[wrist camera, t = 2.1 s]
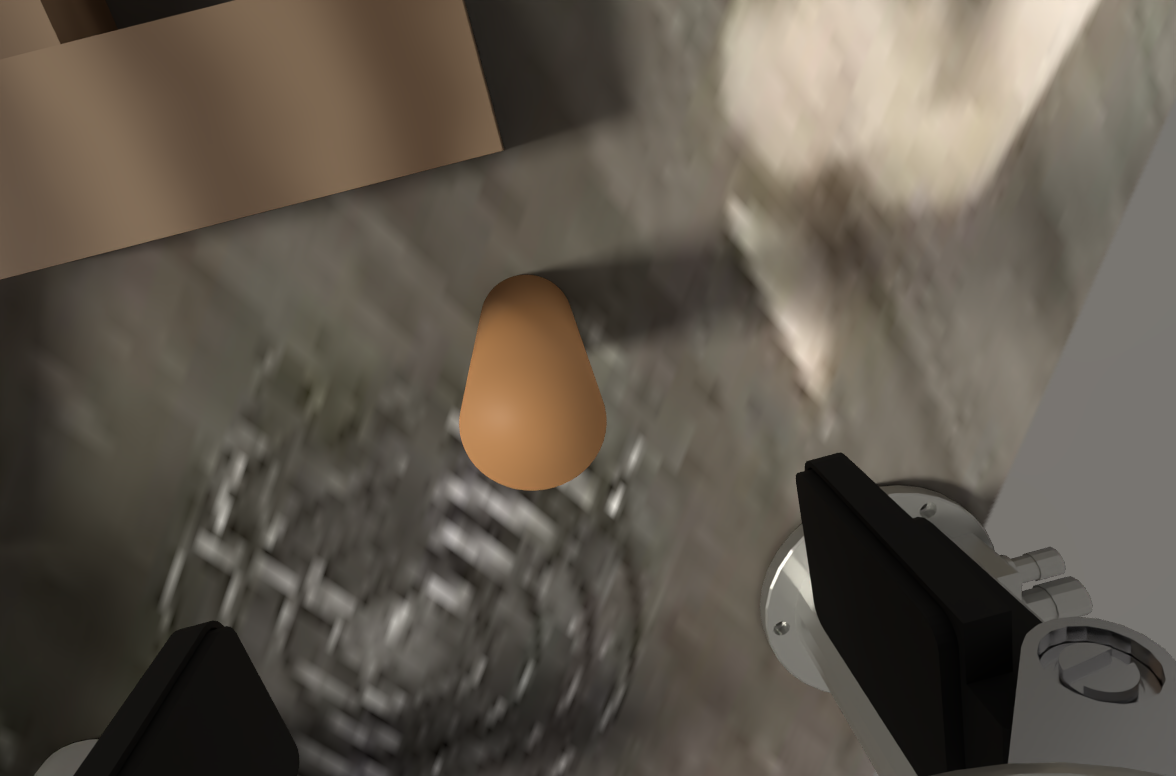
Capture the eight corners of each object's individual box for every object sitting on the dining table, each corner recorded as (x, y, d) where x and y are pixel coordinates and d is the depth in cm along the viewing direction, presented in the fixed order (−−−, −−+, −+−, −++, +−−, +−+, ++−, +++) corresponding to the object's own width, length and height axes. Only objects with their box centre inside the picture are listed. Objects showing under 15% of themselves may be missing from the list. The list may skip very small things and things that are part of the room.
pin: (559, 264, 29) (587, 337, 18) (581, 350, 30) (620, 469, 19) (469, 287, 29) (439, 376, 18) (495, 373, 30) (483, 505, 19)
